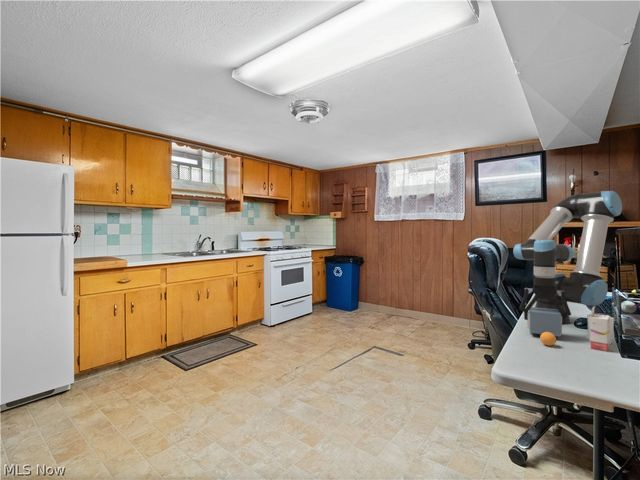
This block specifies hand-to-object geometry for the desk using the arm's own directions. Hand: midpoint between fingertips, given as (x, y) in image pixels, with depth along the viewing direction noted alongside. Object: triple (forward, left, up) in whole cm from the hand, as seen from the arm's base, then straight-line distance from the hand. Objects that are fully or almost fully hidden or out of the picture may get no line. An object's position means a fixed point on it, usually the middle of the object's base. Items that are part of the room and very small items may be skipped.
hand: (544, 329), depth 133 cm
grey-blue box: (0, 0, -1) cm, 1 cm away
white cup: (-1, +18, -3) cm, 18 cm away
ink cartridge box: (+7, +17, -3) cm, 18 cm away
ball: (+14, 0, 0) cm, 14 cm away
